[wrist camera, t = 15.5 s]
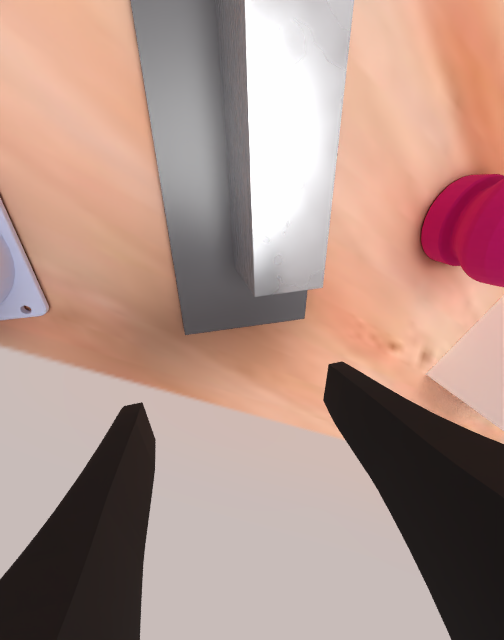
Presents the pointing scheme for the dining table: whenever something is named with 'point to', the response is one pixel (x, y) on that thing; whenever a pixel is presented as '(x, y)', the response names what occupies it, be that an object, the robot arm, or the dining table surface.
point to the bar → (282, 133)
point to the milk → (477, 366)
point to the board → (197, 167)
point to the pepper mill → (469, 227)
